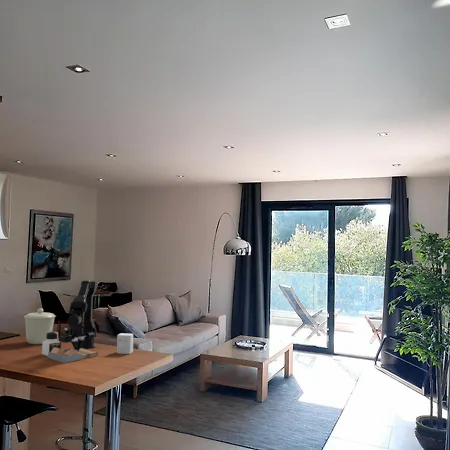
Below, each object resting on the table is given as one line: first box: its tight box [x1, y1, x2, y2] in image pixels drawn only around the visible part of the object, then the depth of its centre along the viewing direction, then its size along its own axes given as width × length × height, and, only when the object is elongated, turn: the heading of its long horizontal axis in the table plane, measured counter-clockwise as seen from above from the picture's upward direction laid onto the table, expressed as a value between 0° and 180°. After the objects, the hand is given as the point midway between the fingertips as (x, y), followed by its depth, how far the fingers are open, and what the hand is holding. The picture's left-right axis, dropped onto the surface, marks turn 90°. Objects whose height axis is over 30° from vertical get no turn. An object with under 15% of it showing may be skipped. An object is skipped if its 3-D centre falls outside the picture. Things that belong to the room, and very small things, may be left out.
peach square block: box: [64, 348, 79, 357], centre depth 230 cm, size 5×5×3 cm
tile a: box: [51, 347, 65, 356], centre depth 232 cm, size 5×5×3 cm
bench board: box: [65, 348, 99, 360], centre depth 240 cm, size 11×14×2 cm
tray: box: [47, 349, 82, 364], centre depth 231 cm, size 10×15×3 cm, turn 55°
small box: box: [116, 332, 134, 355], centre depth 250 cm, size 8×6×10 cm
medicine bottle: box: [41, 331, 62, 357], centre depth 240 cm, size 7×7×12 cm
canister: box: [23, 307, 57, 345], centre depth 269 cm, size 18×18×21 cm
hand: (76, 353), depth 232 cm, fingers closed
